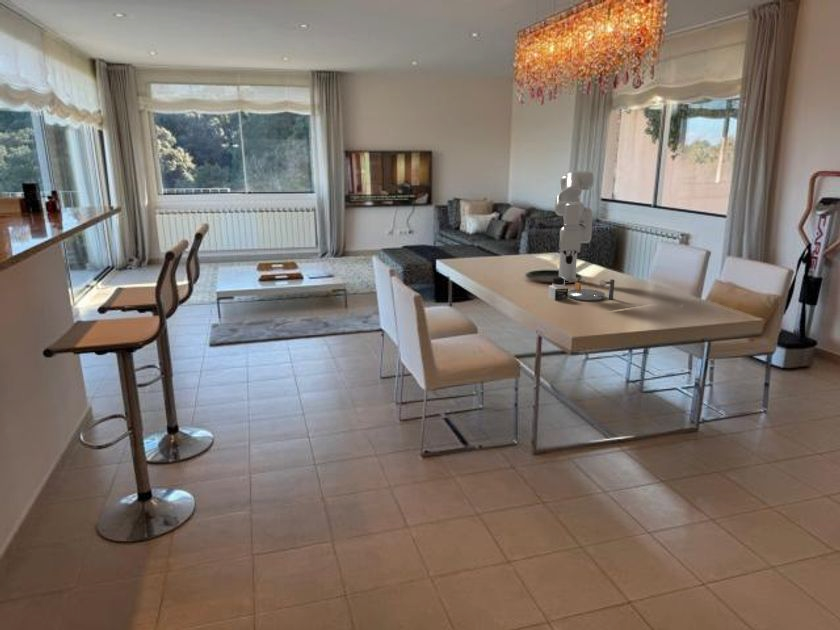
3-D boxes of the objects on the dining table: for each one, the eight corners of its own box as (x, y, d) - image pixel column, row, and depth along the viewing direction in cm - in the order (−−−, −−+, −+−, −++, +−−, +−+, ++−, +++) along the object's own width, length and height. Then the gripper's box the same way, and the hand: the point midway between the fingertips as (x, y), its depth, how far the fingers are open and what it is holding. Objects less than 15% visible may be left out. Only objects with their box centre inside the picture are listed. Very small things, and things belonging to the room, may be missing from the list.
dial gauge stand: (596, 300, 291) (598, 278, 287) (613, 300, 291) (615, 278, 287) (598, 302, 287) (600, 280, 284) (615, 302, 287) (617, 280, 284)
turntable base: (562, 294, 302) (562, 292, 302) (598, 293, 303) (598, 292, 302) (572, 303, 284) (572, 301, 284) (610, 303, 284) (610, 301, 284)
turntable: (612, 298, 289) (613, 287, 287) (584, 303, 282) (585, 291, 280) (587, 291, 305) (588, 280, 303) (560, 295, 297) (561, 283, 295)
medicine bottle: (554, 302, 287) (556, 279, 284) (548, 298, 294) (549, 276, 290) (567, 301, 289) (569, 278, 286) (560, 297, 296) (562, 275, 292)
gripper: (583, 226, 293) (581, 262, 299) (554, 227, 293) (552, 262, 298) (588, 228, 286) (585, 264, 291) (558, 229, 286) (555, 265, 291)
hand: (568, 263), depth 295 cm, fingers closed
